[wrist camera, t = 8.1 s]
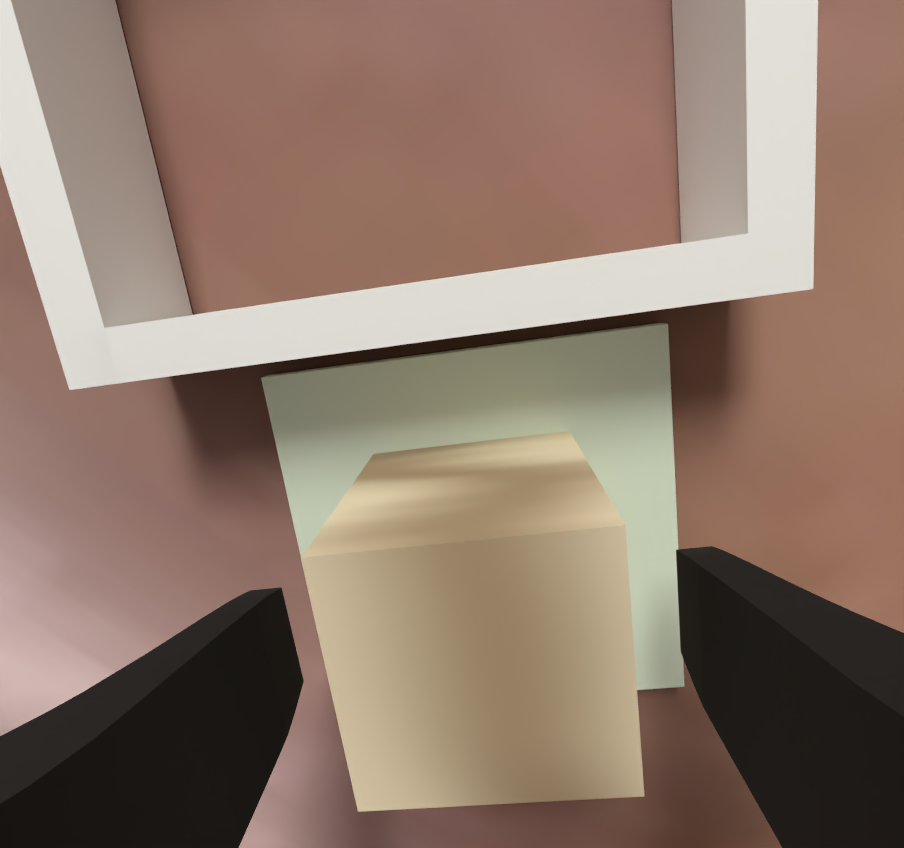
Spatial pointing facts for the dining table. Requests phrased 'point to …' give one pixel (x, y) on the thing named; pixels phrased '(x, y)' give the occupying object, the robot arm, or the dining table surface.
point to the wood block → (479, 628)
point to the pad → (505, 416)
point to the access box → (406, 305)
